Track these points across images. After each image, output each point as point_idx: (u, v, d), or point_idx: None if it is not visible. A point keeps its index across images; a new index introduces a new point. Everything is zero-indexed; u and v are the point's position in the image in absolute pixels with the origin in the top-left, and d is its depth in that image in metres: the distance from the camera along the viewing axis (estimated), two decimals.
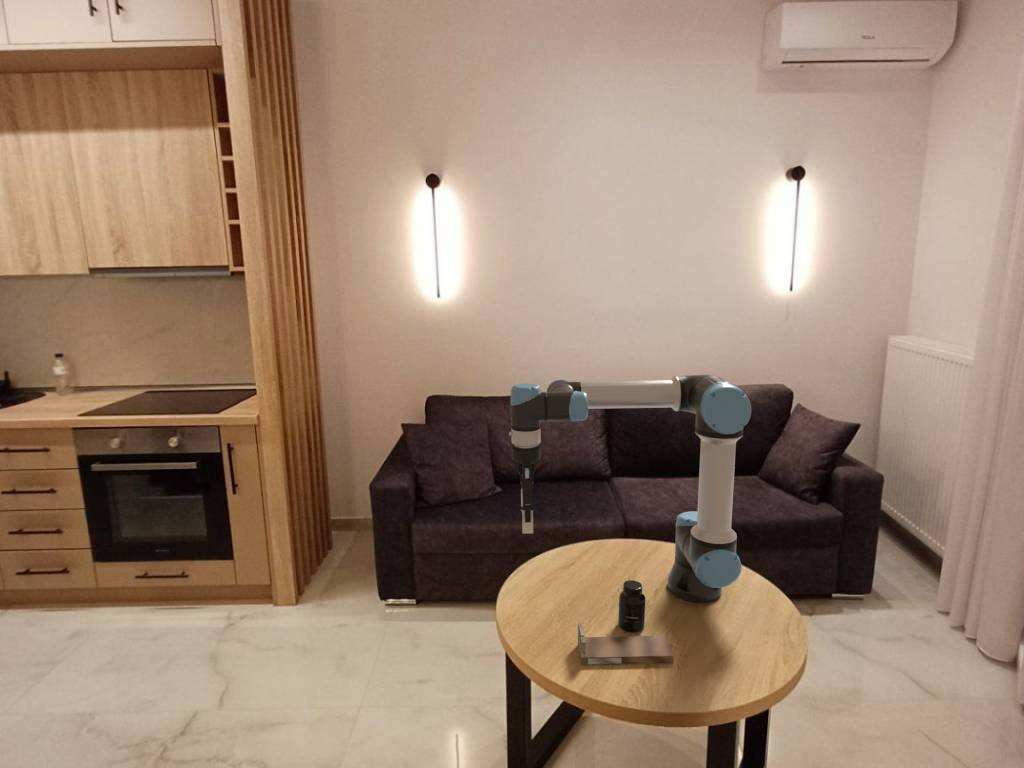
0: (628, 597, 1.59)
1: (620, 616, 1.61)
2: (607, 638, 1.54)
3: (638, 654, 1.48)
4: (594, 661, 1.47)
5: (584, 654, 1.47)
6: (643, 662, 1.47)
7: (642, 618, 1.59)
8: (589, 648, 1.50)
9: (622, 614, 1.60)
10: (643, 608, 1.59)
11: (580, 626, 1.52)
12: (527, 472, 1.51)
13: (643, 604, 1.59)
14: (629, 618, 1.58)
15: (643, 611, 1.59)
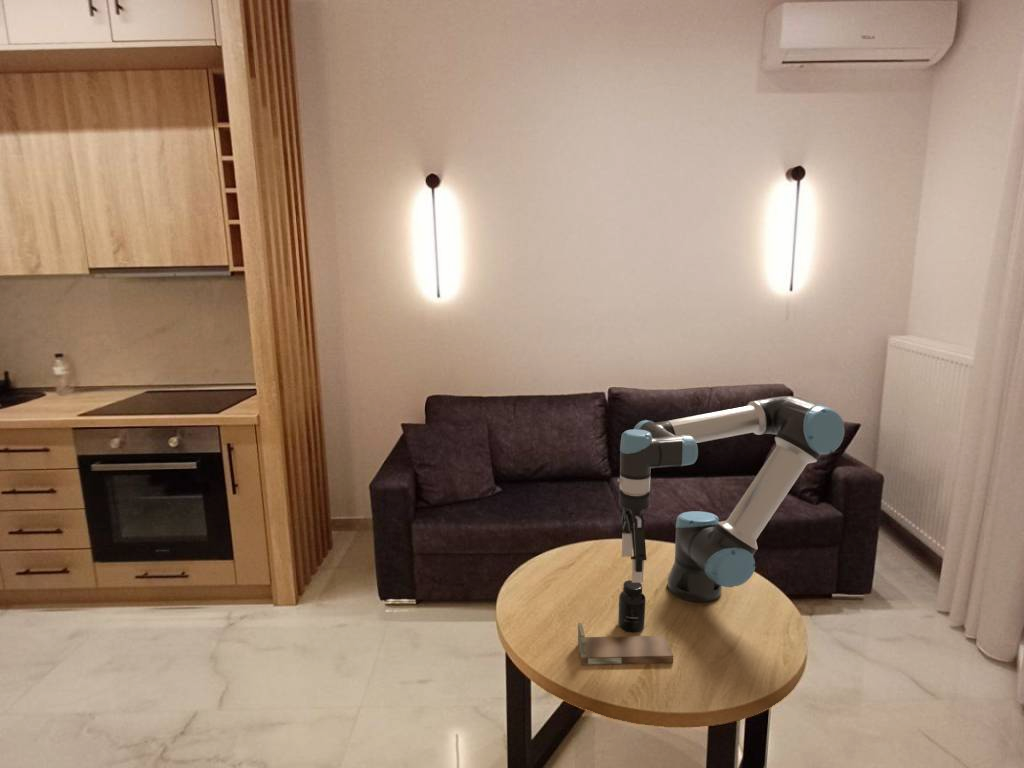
0: (628, 597, 1.59)
1: (620, 616, 1.61)
2: (607, 638, 1.54)
3: (638, 654, 1.48)
4: (594, 661, 1.47)
5: (584, 654, 1.47)
6: (643, 662, 1.47)
7: (642, 618, 1.59)
8: (589, 648, 1.50)
9: (622, 614, 1.60)
10: (643, 608, 1.59)
11: (580, 626, 1.52)
12: (639, 521, 1.49)
13: (643, 604, 1.59)
14: (629, 618, 1.58)
15: (643, 611, 1.59)
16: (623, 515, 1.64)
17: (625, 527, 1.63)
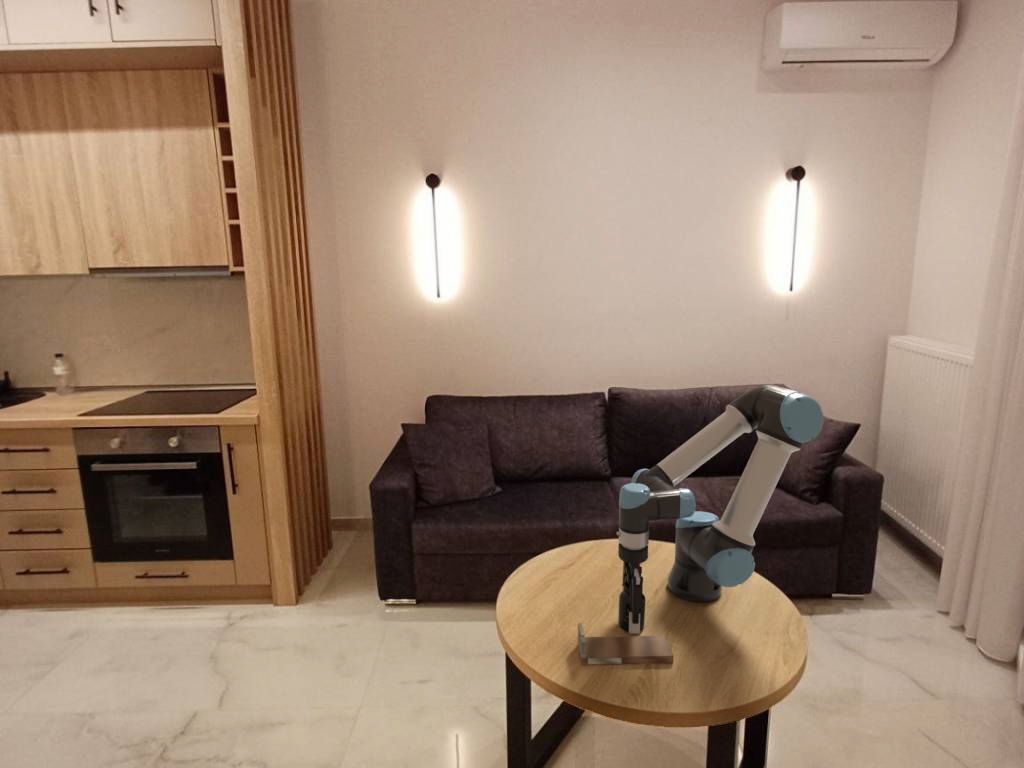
0: (628, 597, 1.59)
1: (620, 616, 1.61)
2: (607, 638, 1.54)
3: (638, 654, 1.48)
4: (594, 661, 1.47)
5: (584, 654, 1.47)
6: (643, 662, 1.47)
7: (642, 618, 1.59)
8: (589, 648, 1.50)
9: (622, 614, 1.60)
10: (643, 608, 1.59)
11: (580, 626, 1.52)
12: (638, 580, 1.52)
13: (643, 604, 1.59)
14: None
15: (643, 611, 1.59)
16: (623, 571, 1.65)
17: None
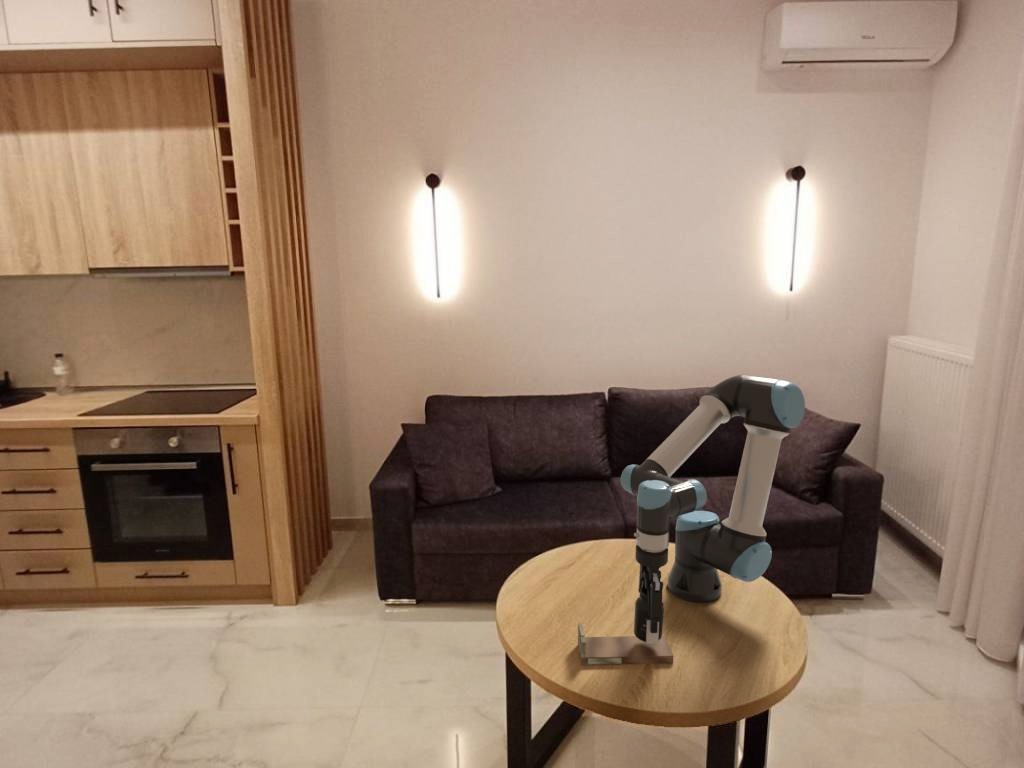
0: (645, 604, 1.46)
1: (636, 624, 1.48)
2: (607, 638, 1.54)
3: (638, 654, 1.48)
4: (594, 661, 1.47)
5: (584, 654, 1.47)
6: (643, 662, 1.47)
7: (660, 627, 1.47)
8: (589, 648, 1.50)
9: (639, 622, 1.47)
10: None
11: (580, 626, 1.52)
12: (657, 585, 1.40)
13: None
14: (646, 627, 1.46)
15: None
16: (640, 576, 1.53)
17: None
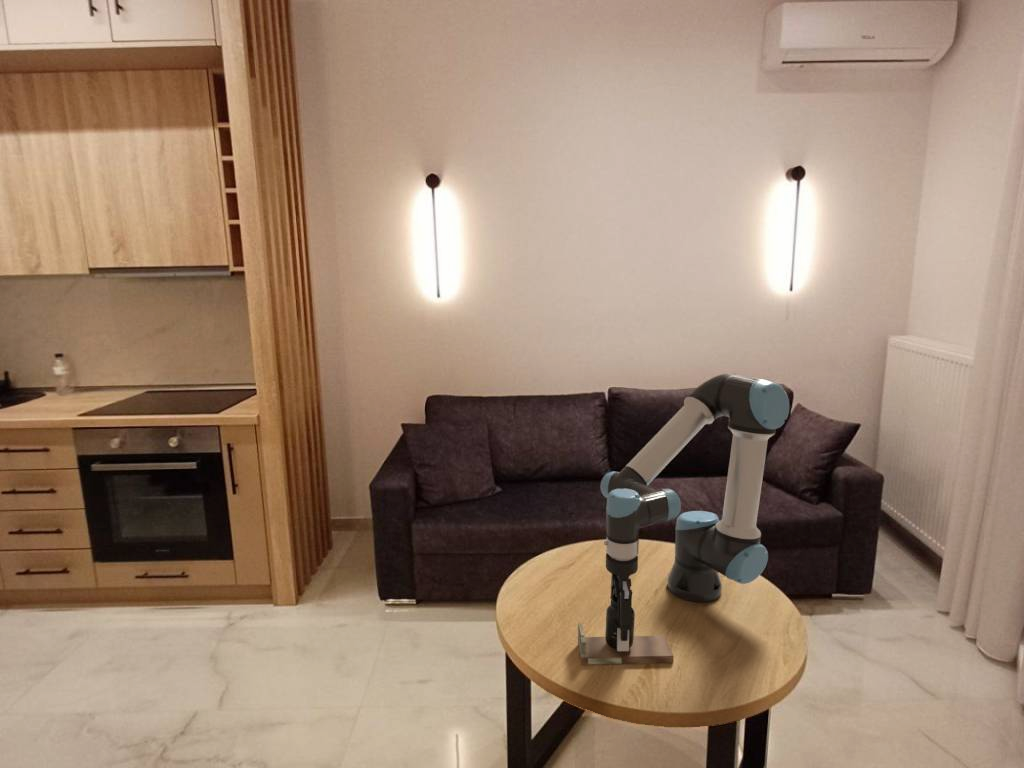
0: (615, 612, 1.47)
1: (607, 632, 1.49)
2: None
3: (638, 654, 1.48)
4: (594, 661, 1.47)
5: (584, 654, 1.47)
6: (643, 662, 1.47)
7: (631, 634, 1.47)
8: (589, 648, 1.50)
9: (610, 630, 1.47)
10: (632, 624, 1.47)
11: (580, 626, 1.52)
12: (627, 593, 1.40)
13: (632, 619, 1.47)
14: None
15: (632, 627, 1.47)
16: (612, 583, 1.53)
17: None
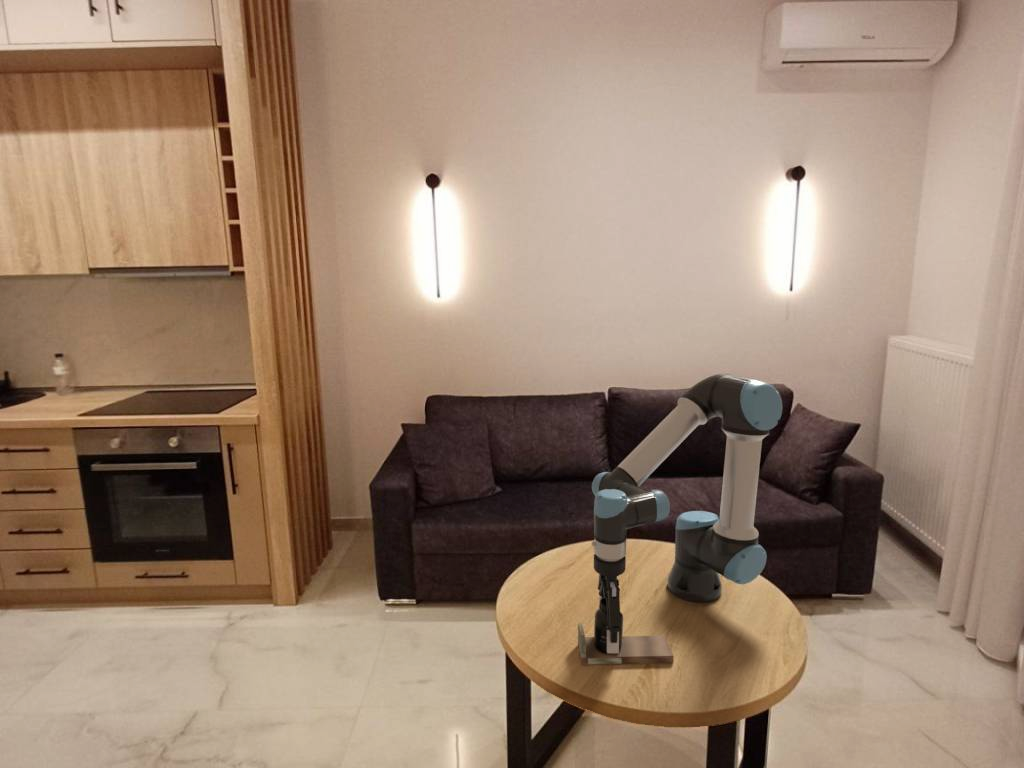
0: (604, 616, 1.47)
1: (595, 636, 1.49)
2: None
3: (638, 654, 1.48)
4: (594, 661, 1.47)
5: (584, 654, 1.47)
6: (643, 662, 1.47)
7: (619, 638, 1.48)
8: (589, 648, 1.50)
9: (598, 634, 1.48)
10: None
11: (580, 626, 1.52)
12: (614, 590, 1.40)
13: None
14: (605, 639, 1.47)
15: None
16: (599, 578, 1.54)
17: (602, 591, 1.53)
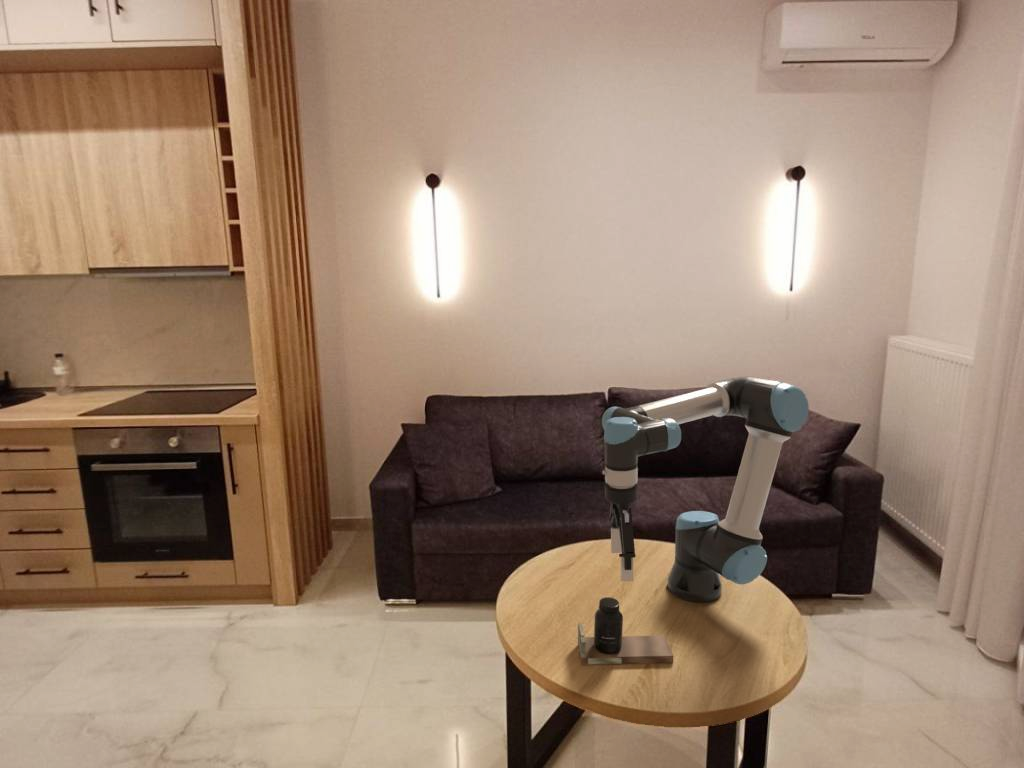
0: (603, 616, 1.47)
1: (595, 636, 1.49)
2: None
3: (638, 654, 1.48)
4: (594, 661, 1.47)
5: (584, 654, 1.47)
6: (643, 662, 1.47)
7: (619, 638, 1.48)
8: (589, 648, 1.50)
9: (598, 634, 1.48)
10: (620, 628, 1.47)
11: (580, 626, 1.52)
12: (626, 515, 1.39)
13: (620, 623, 1.47)
14: (605, 639, 1.47)
15: (620, 631, 1.47)
16: (611, 509, 1.53)
17: (613, 522, 1.52)
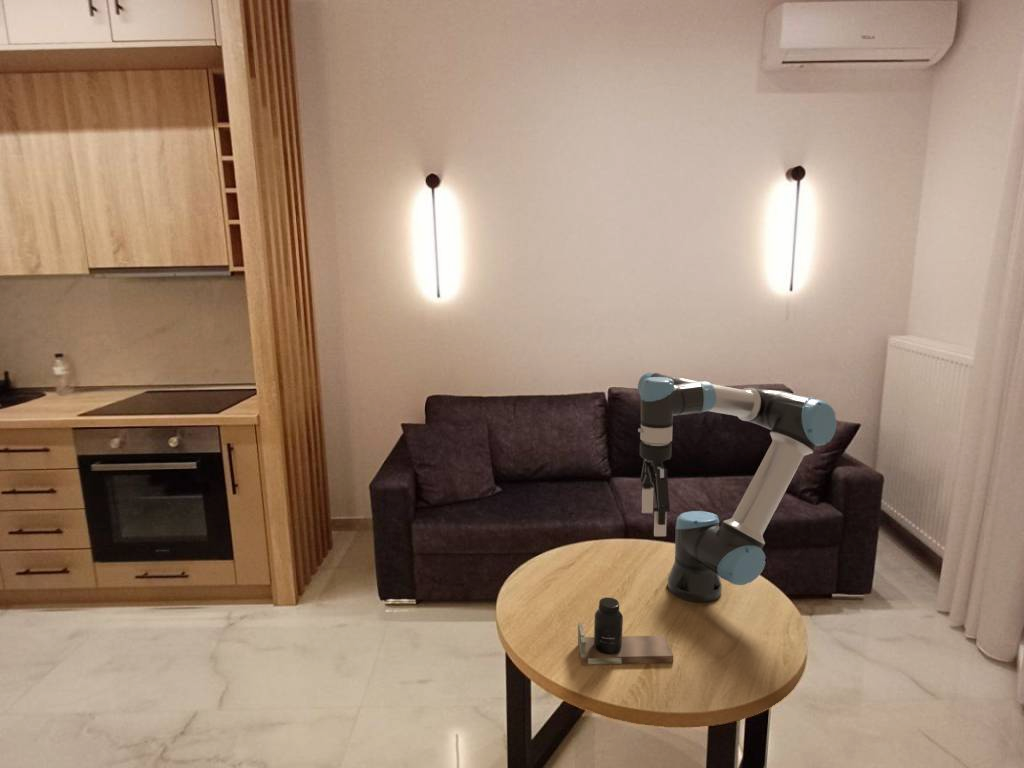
0: (603, 616, 1.47)
1: (595, 636, 1.49)
2: None
3: (638, 654, 1.48)
4: (594, 661, 1.47)
5: (584, 654, 1.47)
6: (643, 662, 1.47)
7: (619, 639, 1.48)
8: (589, 648, 1.50)
9: (598, 634, 1.48)
10: (620, 628, 1.47)
11: (580, 626, 1.52)
12: (662, 471, 1.43)
13: (620, 623, 1.47)
14: (605, 639, 1.47)
15: (620, 631, 1.47)
16: (643, 469, 1.57)
17: (645, 482, 1.56)
